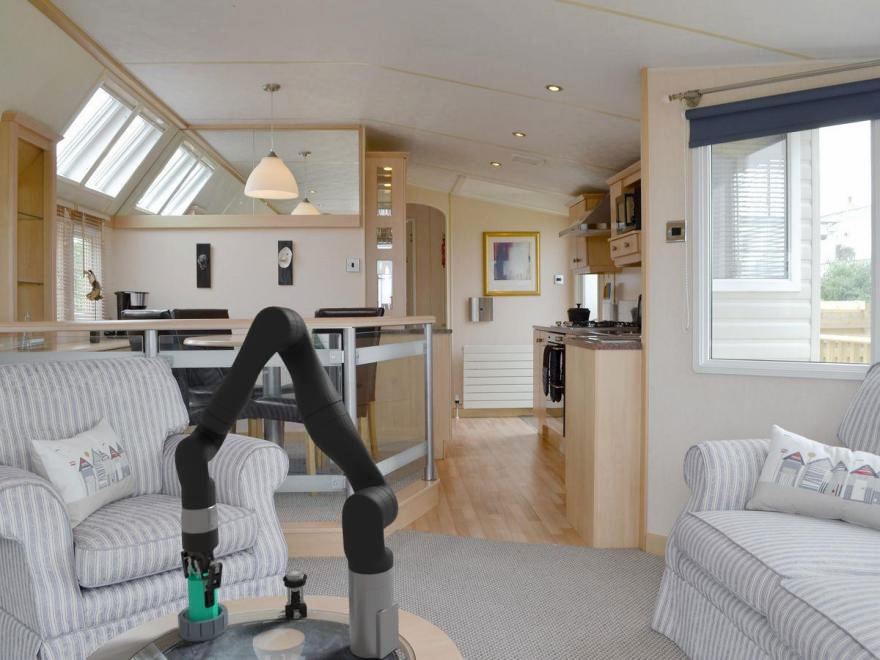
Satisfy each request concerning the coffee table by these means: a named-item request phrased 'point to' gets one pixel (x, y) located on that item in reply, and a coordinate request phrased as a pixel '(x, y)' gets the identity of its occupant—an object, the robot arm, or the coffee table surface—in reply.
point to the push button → (294, 595)
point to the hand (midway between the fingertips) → (202, 602)
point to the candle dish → (202, 625)
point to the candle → (199, 600)
